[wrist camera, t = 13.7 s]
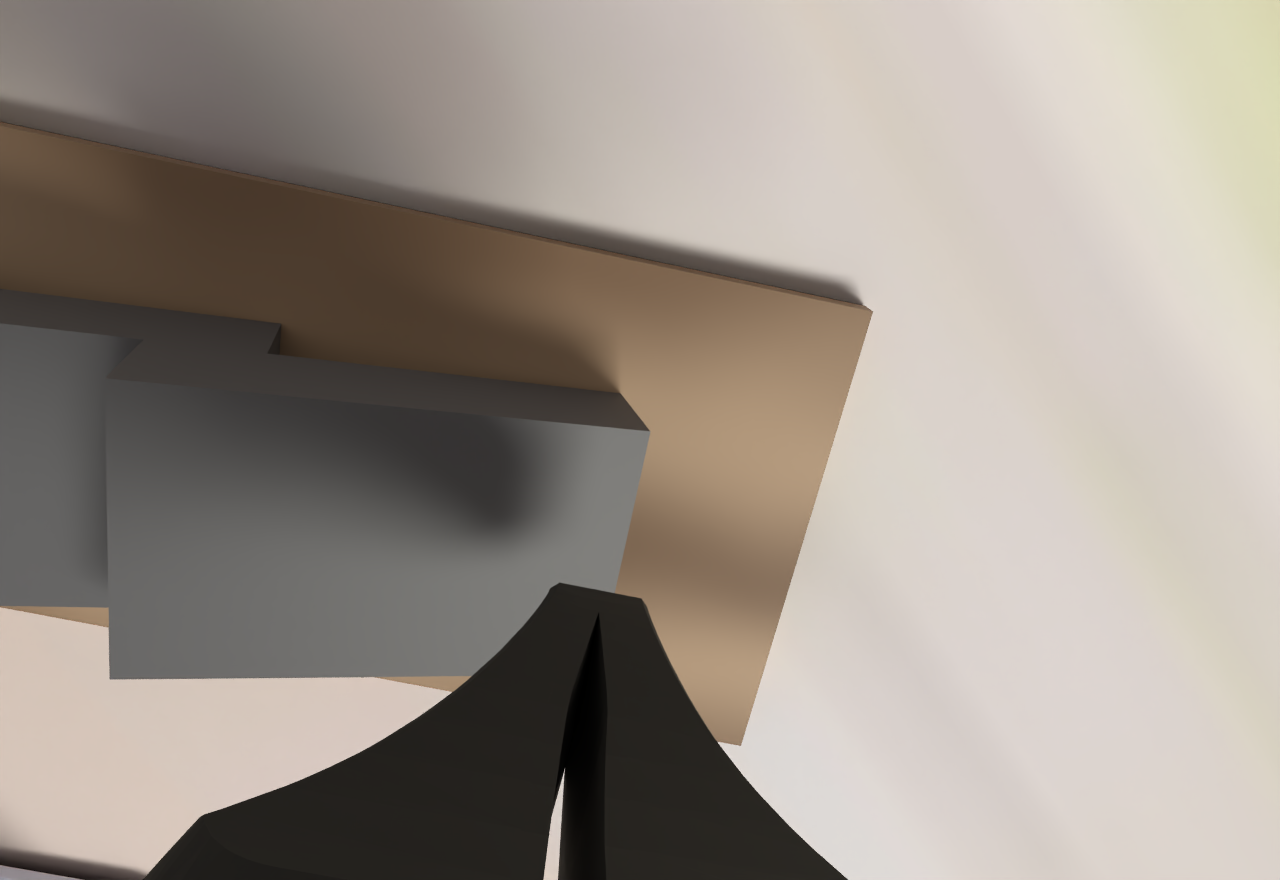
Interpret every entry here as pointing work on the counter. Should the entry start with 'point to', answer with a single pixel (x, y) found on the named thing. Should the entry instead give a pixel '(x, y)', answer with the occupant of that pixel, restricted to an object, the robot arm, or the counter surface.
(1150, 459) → the counter surface
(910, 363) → the counter surface
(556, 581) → the domino
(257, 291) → the board
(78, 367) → the domino
